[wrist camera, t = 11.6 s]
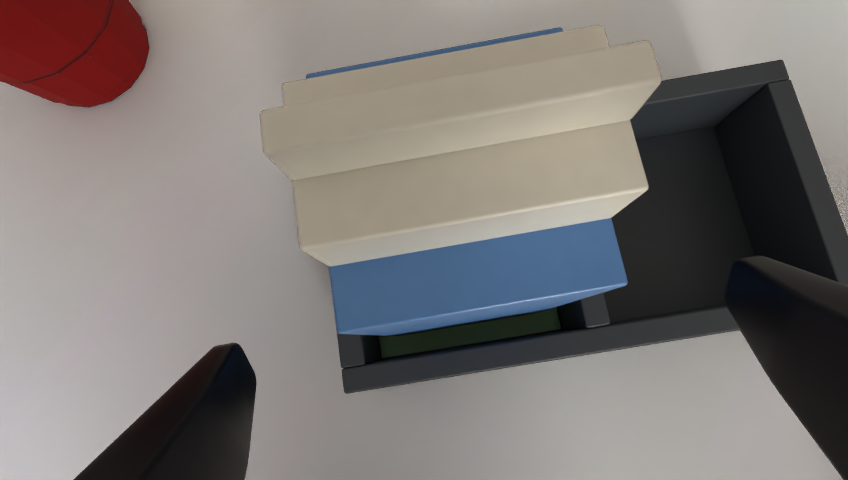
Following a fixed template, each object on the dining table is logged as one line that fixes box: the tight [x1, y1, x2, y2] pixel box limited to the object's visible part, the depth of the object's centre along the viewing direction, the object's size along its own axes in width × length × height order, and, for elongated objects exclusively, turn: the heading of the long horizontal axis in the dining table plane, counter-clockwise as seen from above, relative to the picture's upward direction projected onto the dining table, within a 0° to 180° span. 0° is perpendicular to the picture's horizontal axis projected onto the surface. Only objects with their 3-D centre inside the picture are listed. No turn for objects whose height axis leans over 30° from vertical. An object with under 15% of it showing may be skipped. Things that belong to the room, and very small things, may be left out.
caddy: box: [337, 60, 848, 394], centre depth 18 cm, size 9×17×4 cm, turn 99°
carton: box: [260, 25, 661, 336], centre depth 13 cm, size 6×6×13 cm
